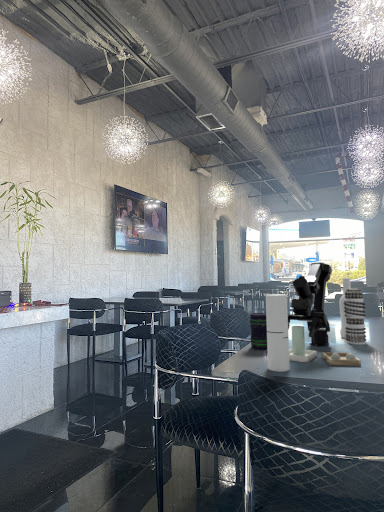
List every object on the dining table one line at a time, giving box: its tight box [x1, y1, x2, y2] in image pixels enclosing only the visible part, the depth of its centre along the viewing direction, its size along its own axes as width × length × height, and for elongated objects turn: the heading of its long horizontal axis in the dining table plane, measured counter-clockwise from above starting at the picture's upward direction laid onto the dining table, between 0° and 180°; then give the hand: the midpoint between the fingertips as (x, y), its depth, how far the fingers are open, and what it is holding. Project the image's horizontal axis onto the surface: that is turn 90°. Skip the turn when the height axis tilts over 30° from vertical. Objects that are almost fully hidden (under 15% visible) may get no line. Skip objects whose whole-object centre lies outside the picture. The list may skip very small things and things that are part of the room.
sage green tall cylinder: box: [291, 325, 306, 356], centre depth 134 cm, size 5×5×11 cm
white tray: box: [289, 347, 318, 364], centre depth 133 cm, size 12×10×2 cm
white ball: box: [331, 352, 340, 359], centre depth 123 cm, size 3×3×3 cm
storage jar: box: [249, 312, 267, 352], centre depth 153 cm, size 10×10×15 cm
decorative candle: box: [343, 288, 367, 346], centre depth 161 cm, size 9×9×25 cm
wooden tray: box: [321, 352, 362, 367], centre depth 126 cm, size 12×10×2 cm
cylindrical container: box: [265, 293, 291, 373], centre depth 119 cm, size 7×7×25 cm
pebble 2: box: [346, 352, 356, 360], centre depth 122 cm, size 3×3×3 cm
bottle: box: [338, 277, 352, 340], centre depth 175 cm, size 8×8×30 cm
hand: (297, 335), depth 133 cm, fingers open, 9 cm apart
